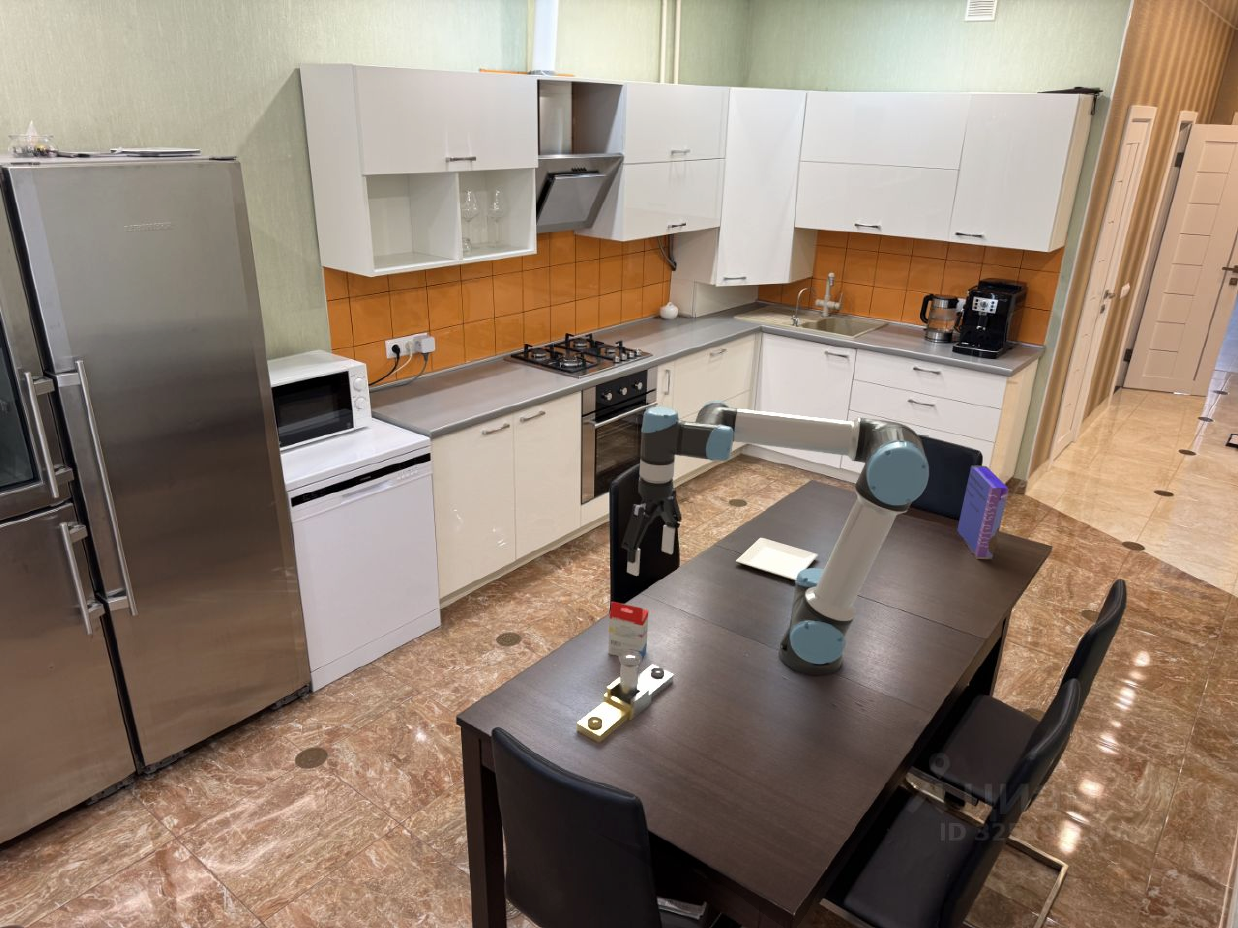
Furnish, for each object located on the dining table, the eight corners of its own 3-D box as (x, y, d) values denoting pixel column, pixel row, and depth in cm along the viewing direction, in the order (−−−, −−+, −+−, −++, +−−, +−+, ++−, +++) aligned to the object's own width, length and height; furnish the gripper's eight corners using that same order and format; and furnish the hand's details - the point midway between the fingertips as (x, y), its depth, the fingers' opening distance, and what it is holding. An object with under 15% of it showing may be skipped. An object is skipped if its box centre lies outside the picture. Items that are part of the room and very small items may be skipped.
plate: (817, 559, 259) (818, 553, 258) (795, 585, 244) (795, 579, 244) (759, 542, 268) (760, 536, 267) (734, 566, 253) (735, 560, 252)
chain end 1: (648, 705, 192) (649, 689, 190) (601, 744, 179) (602, 726, 178) (621, 692, 196) (622, 675, 194) (574, 728, 183) (574, 711, 182)
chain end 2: (675, 682, 200) (677, 666, 198) (633, 718, 188) (634, 701, 186) (649, 670, 204) (650, 653, 202) (606, 703, 192) (607, 687, 190)
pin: (643, 703, 192) (646, 655, 187) (629, 714, 189) (632, 666, 184) (625, 694, 195) (628, 646, 190) (611, 705, 191) (614, 657, 186)
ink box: (646, 651, 211) (650, 599, 206) (640, 662, 207) (644, 609, 201) (614, 643, 214) (616, 591, 208) (607, 654, 209) (609, 601, 204)
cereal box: (992, 560, 264) (1009, 488, 255) (976, 559, 264) (993, 487, 255) (971, 534, 280) (986, 465, 271) (956, 533, 280) (971, 465, 271)
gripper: (673, 457, 200) (667, 538, 209) (607, 489, 182) (603, 577, 190) (701, 465, 196) (693, 548, 204) (636, 499, 178) (631, 589, 186)
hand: (650, 562), depth 197 cm, fingers open, 13 cm apart
